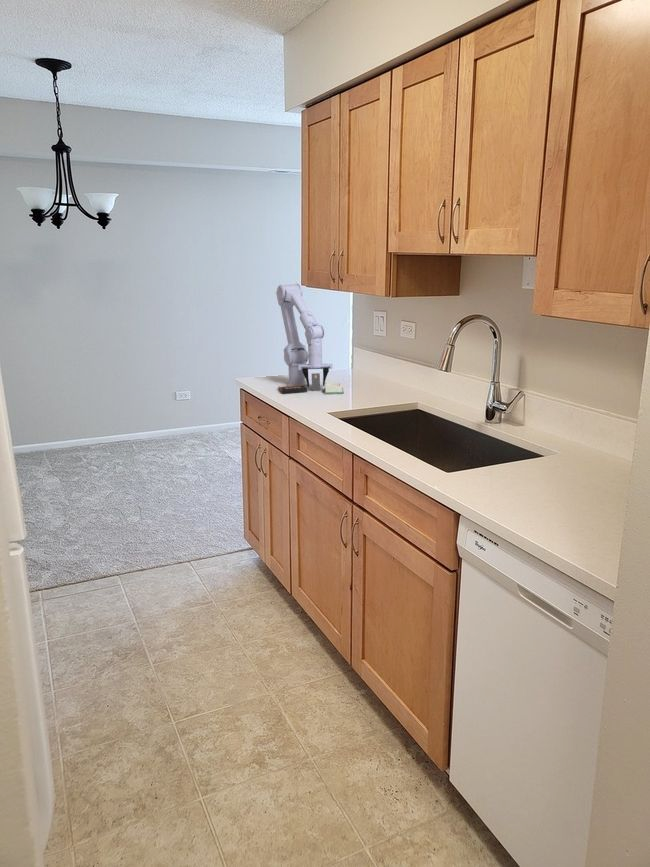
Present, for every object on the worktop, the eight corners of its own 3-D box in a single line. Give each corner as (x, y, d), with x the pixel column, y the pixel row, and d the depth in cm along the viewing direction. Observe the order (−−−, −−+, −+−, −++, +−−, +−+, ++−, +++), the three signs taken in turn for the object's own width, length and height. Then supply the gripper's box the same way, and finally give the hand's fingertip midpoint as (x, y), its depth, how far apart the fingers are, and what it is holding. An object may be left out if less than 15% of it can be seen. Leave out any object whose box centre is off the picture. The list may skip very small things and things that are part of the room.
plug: (312, 389, 286) (311, 373, 284) (320, 389, 286) (319, 373, 284) (312, 391, 282) (311, 375, 280) (320, 391, 282) (319, 374, 280)
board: (324, 389, 285) (324, 382, 284) (342, 388, 285) (342, 382, 284) (324, 394, 275) (324, 387, 274) (343, 393, 275) (343, 386, 274)
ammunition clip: (307, 391, 280) (300, 387, 292) (307, 387, 280) (300, 383, 291) (282, 393, 277) (276, 389, 289) (282, 389, 277) (276, 385, 288)
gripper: (297, 356, 276) (298, 388, 279) (332, 355, 276) (333, 387, 279) (298, 353, 283) (299, 384, 286) (332, 352, 283) (332, 383, 286)
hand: (316, 385), depth 283 cm, fingers open, 6 cm apart
